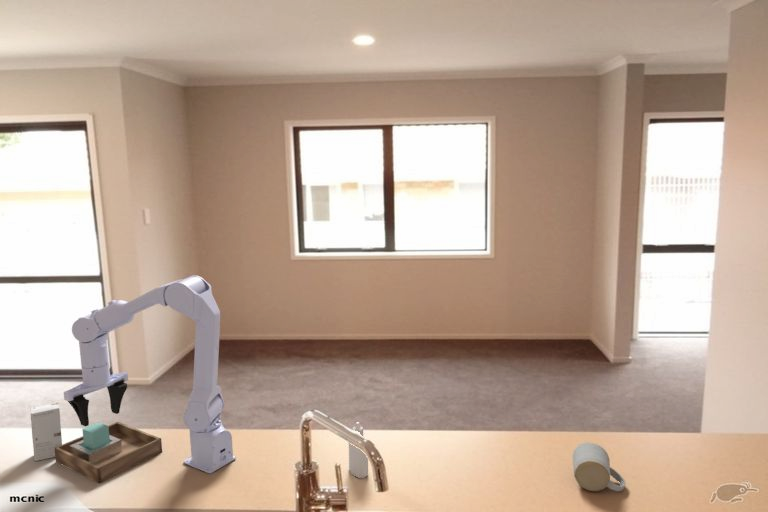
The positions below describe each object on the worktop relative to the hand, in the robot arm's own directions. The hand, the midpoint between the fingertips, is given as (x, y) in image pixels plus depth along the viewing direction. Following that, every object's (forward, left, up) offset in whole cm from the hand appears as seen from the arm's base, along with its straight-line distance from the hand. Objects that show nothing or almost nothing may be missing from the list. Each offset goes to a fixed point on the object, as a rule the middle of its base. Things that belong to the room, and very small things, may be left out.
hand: (100, 418), depth 129 cm
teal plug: (0, +1, -9) cm, 9 cm away
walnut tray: (-1, -1, -10) cm, 10 cm away
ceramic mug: (-104, -49, -10) cm, 116 cm away
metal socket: (+1, +1, -10) cm, 10 cm away
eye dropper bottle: (-57, -26, -10) cm, 63 cm away
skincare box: (+13, +6, -10) cm, 17 cm away
